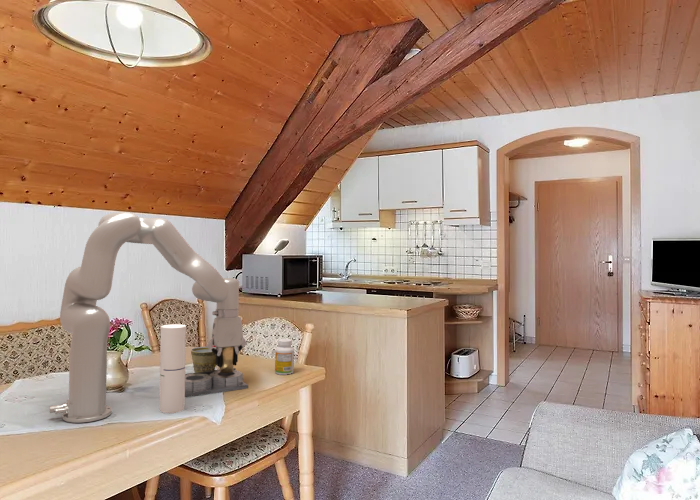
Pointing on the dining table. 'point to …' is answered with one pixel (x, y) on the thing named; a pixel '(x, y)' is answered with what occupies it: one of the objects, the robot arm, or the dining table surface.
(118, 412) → the dining table surface
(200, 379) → the jig
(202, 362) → the ceramic cup
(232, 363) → the cylinder
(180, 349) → the cylindrical container
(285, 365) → the supplement bottle
